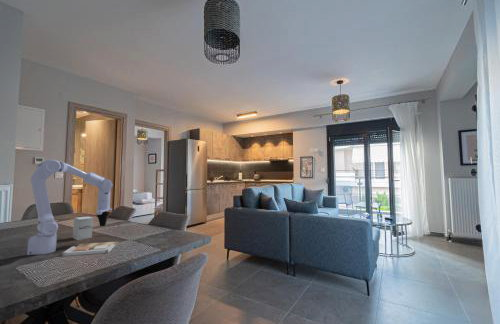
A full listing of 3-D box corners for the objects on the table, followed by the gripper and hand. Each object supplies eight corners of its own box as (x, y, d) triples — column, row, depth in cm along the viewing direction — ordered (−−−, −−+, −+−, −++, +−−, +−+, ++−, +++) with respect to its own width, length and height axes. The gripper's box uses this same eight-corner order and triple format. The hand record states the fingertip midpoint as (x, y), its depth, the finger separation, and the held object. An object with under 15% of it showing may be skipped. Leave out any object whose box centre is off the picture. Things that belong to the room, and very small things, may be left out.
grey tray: (61, 258, 100) (61, 253, 100) (71, 251, 109) (72, 246, 109) (107, 255, 105) (108, 249, 105) (114, 248, 114) (114, 243, 114)
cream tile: (92, 253, 107) (93, 248, 107) (96, 249, 112) (96, 245, 112) (104, 252, 108) (105, 247, 108) (108, 249, 113) (108, 244, 113)
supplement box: (76, 242, 125) (78, 219, 126) (72, 240, 129) (73, 217, 130) (92, 239, 131) (93, 217, 132) (87, 237, 135) (88, 216, 136)
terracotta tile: (73, 254, 105) (73, 250, 105) (77, 251, 109) (78, 246, 109) (85, 253, 106) (85, 249, 106) (89, 250, 111) (90, 246, 111)
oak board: (72, 251, 109) (72, 249, 109) (80, 246, 118) (80, 243, 118) (114, 248, 115) (114, 246, 115) (118, 243, 123) (119, 241, 123)
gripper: (108, 202, 119) (106, 228, 118) (115, 199, 133) (114, 223, 132) (92, 202, 117) (91, 229, 116) (102, 199, 131) (100, 223, 130)
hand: (102, 225), depth 124 cm, fingers closed
